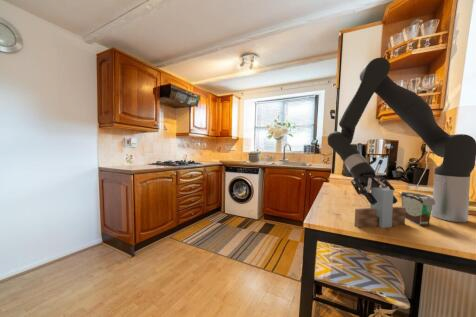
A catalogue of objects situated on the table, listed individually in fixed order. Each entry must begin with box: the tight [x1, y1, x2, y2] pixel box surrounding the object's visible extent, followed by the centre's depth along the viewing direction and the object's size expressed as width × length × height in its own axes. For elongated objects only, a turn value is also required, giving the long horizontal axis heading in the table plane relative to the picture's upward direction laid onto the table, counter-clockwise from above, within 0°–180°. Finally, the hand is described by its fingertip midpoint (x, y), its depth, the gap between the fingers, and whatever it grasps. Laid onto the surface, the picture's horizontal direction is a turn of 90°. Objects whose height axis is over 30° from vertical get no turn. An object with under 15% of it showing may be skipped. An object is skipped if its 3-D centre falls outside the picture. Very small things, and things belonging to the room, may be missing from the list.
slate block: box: [369, 186, 395, 229], centre depth 65 cm, size 4×5×13 cm
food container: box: [400, 191, 435, 227], centre depth 68 cm, size 12×6×10 cm, turn 168°
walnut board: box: [354, 205, 406, 228], centre depth 65 cm, size 20×1×6 cm, turn 101°
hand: (385, 203), depth 64 cm, fingers open, 8 cm apart
